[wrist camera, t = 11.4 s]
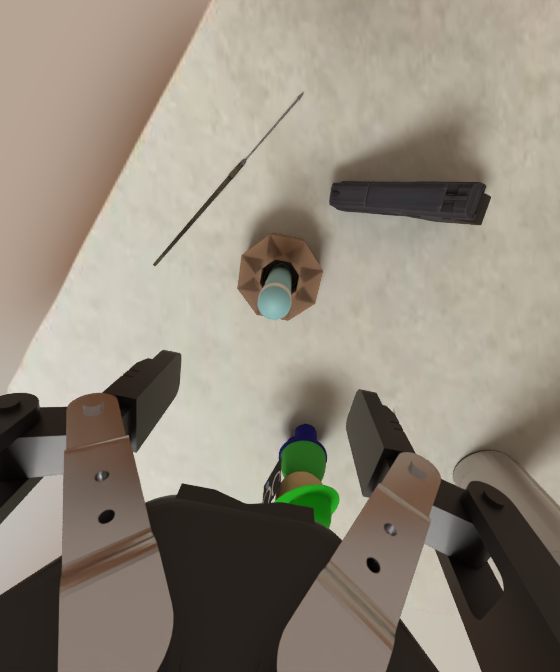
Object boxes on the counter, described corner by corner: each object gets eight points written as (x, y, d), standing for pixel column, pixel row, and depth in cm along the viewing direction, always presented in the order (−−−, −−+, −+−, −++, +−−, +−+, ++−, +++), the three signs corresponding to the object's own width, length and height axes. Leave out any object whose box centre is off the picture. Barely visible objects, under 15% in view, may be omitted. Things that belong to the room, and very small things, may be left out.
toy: (287, 408, 42) (285, 499, 28) (338, 428, 43) (360, 526, 29) (265, 449, 45) (253, 549, 31) (313, 467, 46) (322, 571, 32)
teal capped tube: (293, 265, 34) (294, 290, 21) (289, 286, 35) (287, 323, 22) (272, 261, 34) (259, 283, 21) (268, 282, 35) (254, 317, 22)
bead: (324, 243, 33) (329, 246, 29) (308, 314, 36) (310, 324, 33) (250, 228, 33) (245, 229, 29) (240, 301, 36) (234, 310, 32)
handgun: (481, 226, 30) (472, 218, 22) (361, 216, 37) (324, 208, 29) (491, 196, 28) (486, 177, 21) (366, 192, 36) (329, 177, 28)
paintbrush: (153, 263, 35) (152, 264, 35) (302, 90, 28) (302, 88, 27) (157, 266, 35) (155, 267, 35) (305, 95, 28) (306, 93, 28)
